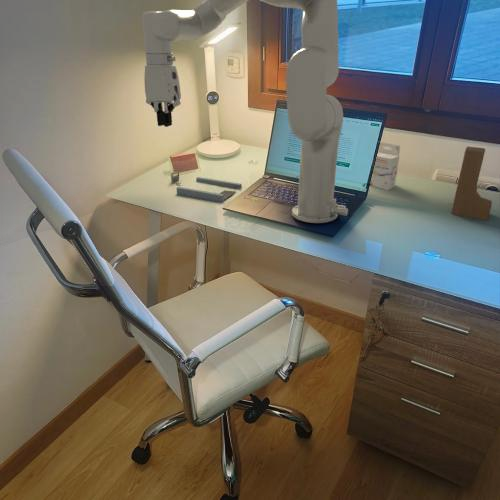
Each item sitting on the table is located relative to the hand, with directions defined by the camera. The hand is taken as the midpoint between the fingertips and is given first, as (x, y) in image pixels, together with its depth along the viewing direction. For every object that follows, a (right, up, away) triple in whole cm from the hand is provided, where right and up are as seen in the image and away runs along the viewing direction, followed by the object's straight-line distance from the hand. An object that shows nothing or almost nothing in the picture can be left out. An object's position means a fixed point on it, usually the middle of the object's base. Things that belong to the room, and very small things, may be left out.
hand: (164, 125), depth 135 cm
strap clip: (+2, -17, +10) cm, 20 cm away
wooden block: (+86, -29, -15) cm, 92 cm away
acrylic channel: (+13, -20, +3) cm, 24 cm away
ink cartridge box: (+66, -20, +3) cm, 69 cm away
